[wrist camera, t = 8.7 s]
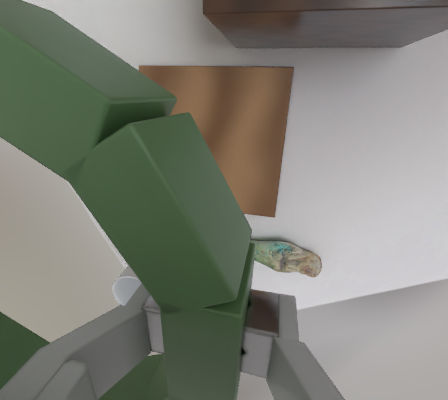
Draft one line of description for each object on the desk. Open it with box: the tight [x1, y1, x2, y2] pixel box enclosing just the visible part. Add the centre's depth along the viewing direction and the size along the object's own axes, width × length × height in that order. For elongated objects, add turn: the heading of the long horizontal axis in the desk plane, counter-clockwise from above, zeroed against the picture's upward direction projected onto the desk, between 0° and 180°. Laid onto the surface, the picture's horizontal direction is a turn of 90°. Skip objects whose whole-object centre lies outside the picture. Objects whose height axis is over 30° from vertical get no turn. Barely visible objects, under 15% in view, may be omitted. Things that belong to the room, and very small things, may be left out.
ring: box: [0, 0, 255, 400], centre depth 9 cm, size 17×17×3 cm
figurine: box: [250, 240, 322, 277], centre depth 38 cm, size 6×15×4 cm, turn 76°
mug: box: [112, 266, 141, 306], centre depth 38 cm, size 10×7×12 cm, turn 110°
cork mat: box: [139, 66, 294, 217], centre depth 35 cm, size 20×20×1 cm
